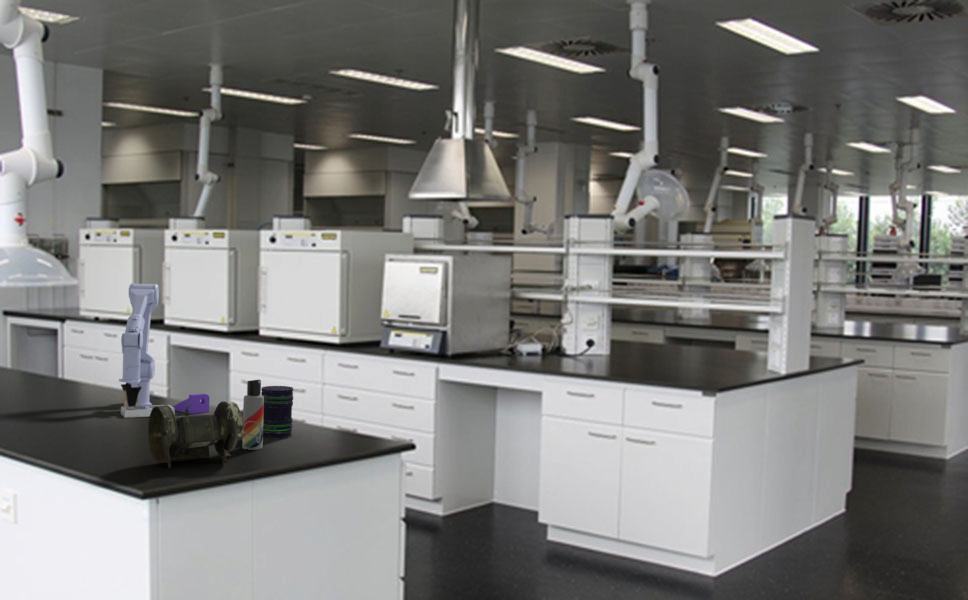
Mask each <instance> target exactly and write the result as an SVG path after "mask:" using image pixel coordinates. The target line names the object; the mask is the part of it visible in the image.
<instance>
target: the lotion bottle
mask: <svg viewBox="0 0 968 600" xmlns="http://www.w3.org/2000/svg"><path fill="white" fill-rule="evenodd" d="M246 384H247V386H246V395H244V396H243V403H242V404H243V405H242V420H243V429H244V434H243V436H242V442H241V443H242V446H241V447H242V449H243V450H247V449H248V450H249V451H255V450H261V449H263V442H264V438H263V412H264V396H262V395H261V392H262V391H261V388H262V380H261V379H253V380H252V379H251V380H247V383H246ZM248 450H247V451H248Z"/></svg>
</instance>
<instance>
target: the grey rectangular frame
mask: <svg viewBox="0 0 968 600" xmlns="http://www.w3.org/2000/svg"><path fill="white" fill-rule="evenodd" d="M164 405H165V404H159V405H158V404H156V405H154V404H152V405H144V406H125V407H124V406H120V415H121V416H122V417H123V418H124V419H129V418H149V417H150V413H151V411H152V409H153V408H154V407H156V406H164ZM167 405H168V406H169V407H170V408H171V409H172V411H173V413H174V416H175V413H176V412H175V411H176V410H175V408H174V407H173V406H172V405H171V404H167Z"/></svg>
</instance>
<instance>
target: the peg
mask: <svg viewBox="0 0 968 600" xmlns="http://www.w3.org/2000/svg"><path fill="white" fill-rule="evenodd" d="M125 406H128V401H127V394H126V391H125V390H124V391H123V407H125ZM135 406H138V397H137V401H136V405H135Z"/></svg>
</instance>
